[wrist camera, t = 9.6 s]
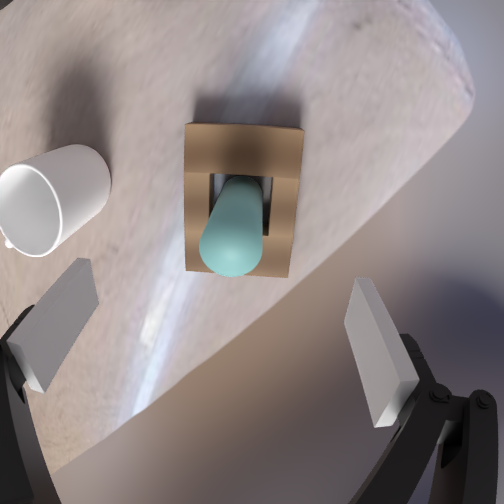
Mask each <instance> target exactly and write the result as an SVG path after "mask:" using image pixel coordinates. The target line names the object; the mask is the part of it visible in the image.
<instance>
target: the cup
mask: <svg viewBox="0 0 504 504" xmlns="http://www.w3.org/2000/svg"><path fill="white" fill-rule="evenodd" d="M110 189H111V178H110V173H109V169H108V167H107V164H106V163H105V161H104V159H103V158H102V157H101V155H100V154H99V153H98V152H96V151H95V150H94V149H92V148H90V147H88V146H85V145H80V144H74V145H68V146H65V147H61V148H58V149H55V150H52V151H49V152H46V153H44V154H41V155H38V156H35V157H32V158H29V159H27V160H24V161H21V162H19V163H16V164H14V165H11V166H10V167H8V168H7V169H6V170H4V172H3V173H2V174H1V175H0V229H1V231H2V233H3V235H4V236H5V245H6V246H7V247H8V248H12V247H14V248H15V249H17V250H18V251H19V252H21V253H23V254H25V255H28V256H32V257H41V256H45V255H47V254H49V253H50V252H52V251H53V250H54V249H55V248H56V247H57V246H59V245H60V244H61V243H62V242H63V241H64V240H66V239H67V238H68V237H69V236H70V235H72V234H73V233H74V232H75V231H76V230H78V229H79V228H80V227H81V226H83V225H84V224H85V223H86V222H88V221H89V220H90V219H91V218H93V217H94V216H95V215H96V214H97V213H98V212H100V210H101V209H102V208H103V207H104V205H105V204H106V202H107V200H108V197H109V194H110Z"/></svg>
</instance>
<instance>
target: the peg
mask: <svg viewBox="0 0 504 504" xmlns="http://www.w3.org/2000/svg"><path fill="white" fill-rule="evenodd" d="M199 252H200V255H201V258H202V260H203V262H204V263H205V264H206V266H207V267H208V268H210V269H211V270H212V271H214V272H215V273H217V274H220V275H223V276H228V277H236V276H241V275H244V274H246V273H248V272H250V271H251V270H253V269H254V268H255V267H256V266H257V264H258V263H259V261H260V259H261V256H262V190H261V188H260V186H259V184H258V183H257V182H256V181H255V180H253V179H252V178H249V177H246V176H237V177H234V178H232V179H230V180H229V181H227V182H226V183H225V185H224V186H223V188H222V191H221V193H220V195H219V197H218V199H217V202H216V204H215V206H214V208H213V211H212V213H211V215H210V217H209V220H208V222H207V224H206V226H205V229H204V231H203V233H202V236H201V238H200V242H199Z"/></svg>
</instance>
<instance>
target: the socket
mask: <svg viewBox="0 0 504 504" xmlns="http://www.w3.org/2000/svg"><path fill="white" fill-rule="evenodd" d="M303 141H304V130H302V129H301V128H292V127H281V126H269V125H255V124H237V123H210V122H191V123H188V124H185V146H184V228H185V264H186V271H196V272H209V273H215V272H214V271H212V270H211V269H210V268H208V267H207V266H206V264H205V263H204V262H203V260H202V258H201V255H200V252H199V242H200V238H201V236H202V233H203V231H204V229H205V226H206V224H207V222H208V220H209V217H210V215H211V213H212V211H213V197H214V173H216V174H235V175H251V176H266V177H272V183H271V195H270V207H269V219H268V224H262V256H261V259H260V261H259V263H258V264H257V266H256V267H255V268H254V269H253V270H251V271H250V272H248V273H246V274H244V275H250V276H265V277H280V278H288V273H289V265H290V258H291V250H292V242H293V234H294V225H295V217H296V208H297V199H298V190H299V181H300V171H301V162H302V152H303Z"/></svg>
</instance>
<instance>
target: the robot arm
mask: <svg viewBox="0 0 504 504" xmlns="http://www.w3.org/2000/svg"><path fill="white" fill-rule="evenodd" d="M12 1H13V0H0V10H1V9H3V8H4V7H5V6H7V5H8V4H9V3H10V2H12ZM98 304H99V301H98V297H97V292H96V287H95V283H94V278H93V273H92V267H91V262H90V259H85V258H77V259H76V260H75V261H74V262H73V263H72V264H71V265H70V267H69V268H68V269H67V270H66V271H65V272H64V273H63V274H62V275H61V276H60V277H59V279H58V280H57V281H56V282H55V283H54V284H53V285H52V286H51V287H50V289H49V290H48V291H47V292H46V293H45V294H44V295H43V297H42V298H41V299H40V300H39V301H38V302H37V304H36V305H31V306H30V307H28V308H27V309H25V310H24V311H23V312H22V313H21V314H20V316H19V317H18V319H16V320H15V322H14V324H12V325H11V326H10V328H9V329H8V330H7V331H6V333H5V334H4V335H3V336H2V338H1V339H0V504H61V501H60V499H59V497H58V495H57V492H56V489H55V487H54V484H53V482H52V479H51V477H50V474H49V471H48V469H47V466H46V463H45V460H44V457H43V454H42V451H41V448H40V445H39V442H38V438H37V435H36V431H35V428H34V424H33V421H32V417H31V413H30V409H29V405H28V400H27V396H26V391H25V389H24V387H23V384H24V383H25V381H27V383H28V384H29V386H30V388H31V389H32V390H35V391H38V392H41V393H44V394H45V392H46V391H47V389H48V387H49V385H50V383H51V382H52V380H53V378H54V376H55V374H56V373H57V371H58V369H59V367H60V366H61V364H62V362H63V361H64V359H65V357H66V356H67V354H68V352H69V351H70V349H71V347H72V346H73V344H74V342H75V341H76V339H77V337H78V336H79V334H80V333H81V331H82V329H83V328H84V326H85V325H86V323H87V321H88V320H89V318H90V317H91V315H92V314H93V312H94V311H95V309H96V307H97V306H98ZM344 325H345V328H346V330H347V334H348V337H349V340H350V344H351V347H352V350H353V354H354V357H355V360H356V363H357V367H358V370H359V374H360V377H361V381H362V384H363V388H364V391H365V395H366V398H367V402H368V406H369V410H370V413H371V417H372V421H373V424H374V427H383V426H390V425H392V424H393V423H394V421H395V420H396V418H397V417H398V420H399V423H400V425H399V427H398V428H397V430H396V431H395V433H394V434H393V435H392V437H391V440H390V442H389V444H388V445H387V447H386V449H385V450H384V452H383V453H382V455H381V457H380V458H379V460H378V461H377V463H376V465H375V466H374V467H373V469H372V471H371V472H370V473H369V475H368V476H367V478H366V479H365V481H364V482H363V484H362V485H361V487H360V488H359V489H358V491H357V492H356V493H355V495H354V496H353V498H352V499H351V500H350V502H349V503H348V504H407V503H408V501H409V499H410V497H411V495H412V493H413V492H414V490H415V488H416V486H417V484H418V482H419V480H420V478H421V476H422V474H423V472H424V470H425V468H426V466H427V464H428V462H429V460H430V457H431V455H432V453H433V451H434V448H435V446H436V444H439V446H438V453H437V460H436V466H435V472H434V477H433V482H432V487H431V492H430V497H429V501H428V504H496V493H497V478H498V421H497V420H498V419H497V404H496V401H495V399H494V397H493V396H492V395H491V394H490V393H489V392H487V391H485V390H475V391H473V392H472V394H471V395H470V396H469V398H466V397H459V396H453V395H452V393H451V392H450V390H449V389H448V388H447V387H445V386H444V385H442V384H439V383H436V381H435V378H434V376H433V374H432V372H431V370H430V368H429V366H428V364H427V362H426V360H425V359H424V356H423V354H422V352H420V348H419V346H418V344H417V342H416V341H415V340H414V339H413V338H412V337H411V336H410V335H409V334H398V332H397V330H396V328H395V326H394V323H393V321H392V319H391V317H390V315H389V313H388V311H387V309H386V307H385V306H384V303H383V302H382V300H381V298H380V296H379V294H378V292H377V290H376V288H375V286H374V284H373V283H372V281H371V279H370V278H362V277H356V278H355V282H354V286H353V290H352V294H351V298H350V302H349V305H348V309H347V312H346V316H345V320H344Z"/></svg>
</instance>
